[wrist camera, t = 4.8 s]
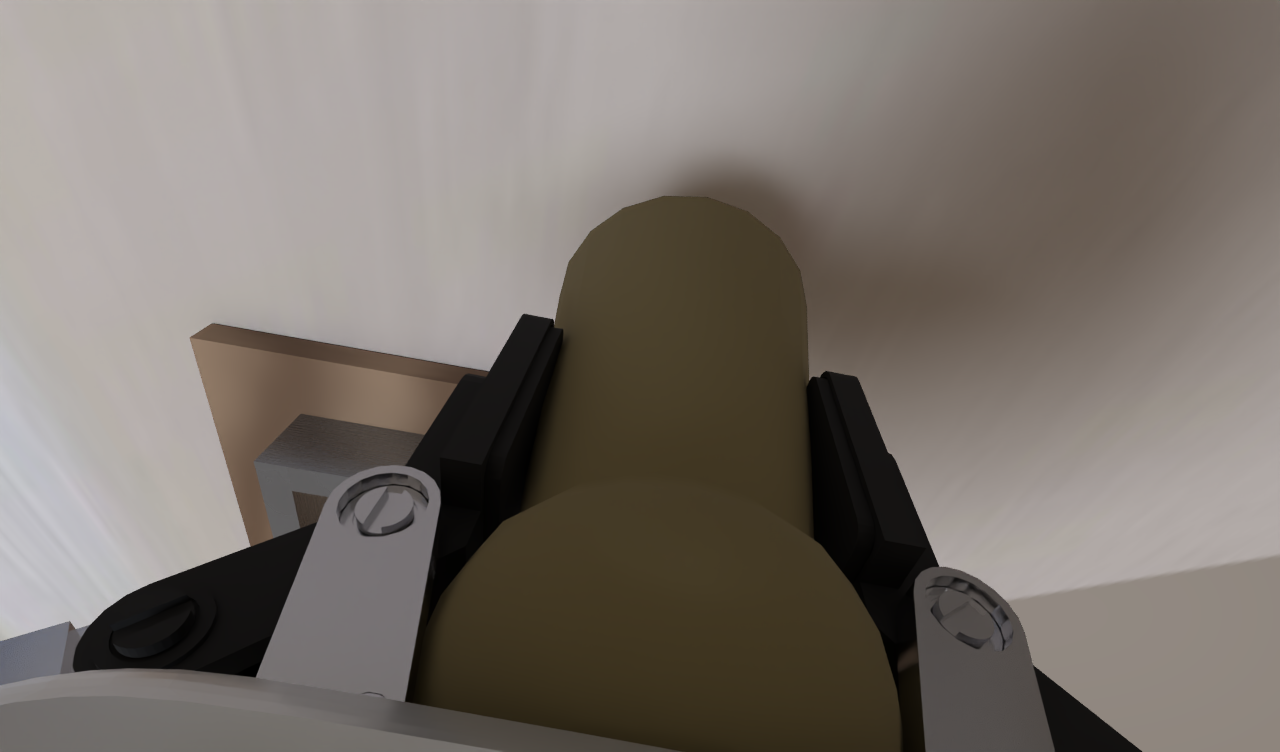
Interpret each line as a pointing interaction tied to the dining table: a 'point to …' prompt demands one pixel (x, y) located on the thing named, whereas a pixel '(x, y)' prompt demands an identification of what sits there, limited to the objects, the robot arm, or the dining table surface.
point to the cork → (670, 517)
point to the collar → (321, 465)
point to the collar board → (306, 396)
